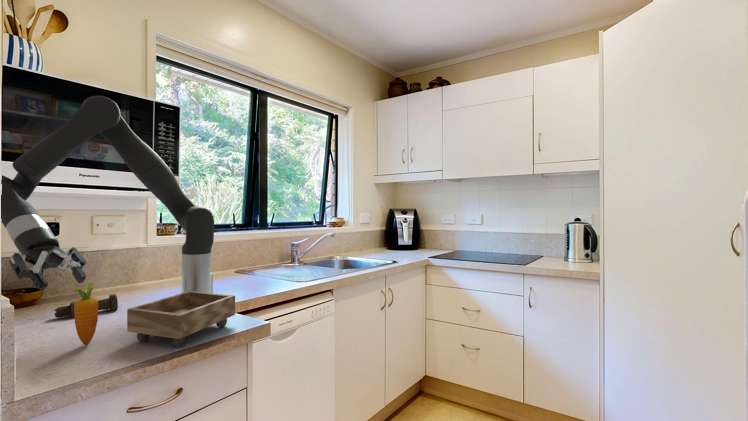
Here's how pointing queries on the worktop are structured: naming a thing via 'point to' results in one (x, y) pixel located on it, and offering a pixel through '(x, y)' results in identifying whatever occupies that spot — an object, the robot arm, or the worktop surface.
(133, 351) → the worktop surface
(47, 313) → the worktop surface
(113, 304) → the bolt
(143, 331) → the caster cart
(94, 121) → the robot arm
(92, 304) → the carrot
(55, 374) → the worktop surface
